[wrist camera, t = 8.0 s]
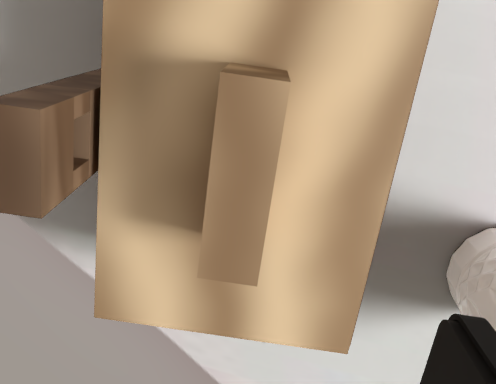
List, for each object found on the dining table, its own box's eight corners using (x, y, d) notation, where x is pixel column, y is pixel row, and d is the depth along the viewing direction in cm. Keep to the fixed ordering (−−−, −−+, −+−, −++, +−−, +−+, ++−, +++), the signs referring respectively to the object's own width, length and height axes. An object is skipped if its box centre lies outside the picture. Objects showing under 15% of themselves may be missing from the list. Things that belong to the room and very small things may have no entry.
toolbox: (402, -40, 26) (535, -103, 13) (332, 272, 33) (372, 438, 20) (118, -82, 26) (-37, -187, 13) (106, 239, 33) (-3, 384, 20)
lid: (434, -52, 20) (502, -83, 14) (341, 328, 26) (361, 414, 21) (123, -98, 20) (61, -148, 14) (108, 294, 26) (61, 371, 20)
